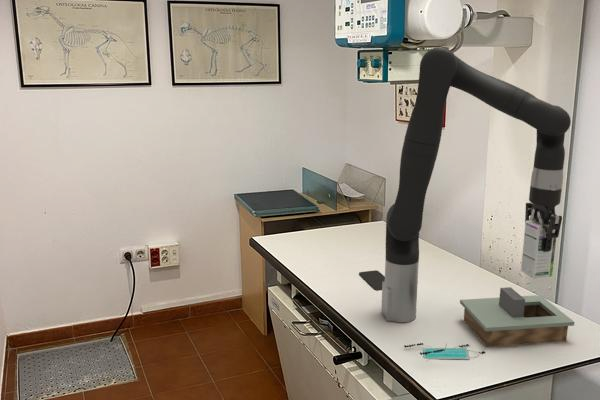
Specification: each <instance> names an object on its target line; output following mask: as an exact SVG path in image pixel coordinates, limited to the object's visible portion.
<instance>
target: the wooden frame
mask: <svg viewBox="0 0 600 400" xmlns="http://www.w3.org/2000/svg"><path fill="white" fill-rule="evenodd" d="M463 311H464V312H463V322H464V324H465V325H467V327H469V329H470V330H471V331H472V332H473V333H474V334H475V336H476V337H477V338H478V339H479V341H481V343H482V344H483V345H484V346H485V348H489V347H504V346H518V345H532V344H545V343H547V344H548V343H560V342H561V343H562V342H567V338H568V337H567V336H568V329H569V326H559V327H544V328H529V329H514V330H499V331H485V330H484V329H483V328H482V326H481V325H480V324H479V323H478V322H477V321H476V320H475V319H474V318H473V317H472V316H471V314H470V313H469V312H468V311H467V310H466V309H465V308H464V310H463ZM544 316H552V315H551V314H550V313H549V312H547V311H546V310H545V309H544V308H543V307H541V306H540V305H526V306H524V317H525V318H529V317H544Z"/></svg>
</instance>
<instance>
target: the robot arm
mask: <svg viewBox="0 0 600 400" xmlns="http://www.w3.org/2000/svg"><path fill="white" fill-rule="evenodd" d="M418 73H419V74H418V82H417V83H418V84H417V85H418V86H417V90H416V92H417V93H416V99H415V102H414V106H413V107H412V108H413V109H412V111H411V115H410V118H409V121H408V124H407V127H406V131H405V134H404V135H405V136H404V138H403V139H404V140H403V145H402V149H401V154H400V162H399V164H400V165H399V180H398V181H399V182H398V183H399V184H398V189H397V194H396V198H395V202H394V203H393V204H392V205H391V206H390V207H389V208H388V210H387V213H386V221H385V266H384V276H385V281H383V282H382V290H381V307H380V308H381V309H380V311H381V313H382V315H383V317H384V318H385V319H384V320H386V322H387V321H388V322H395V323H408V322H409V323H410V322H412V321H414V320H415V319H416V316H417V302H418V301H417V298H418V284H419V283H418V281H419V280H418V279H419V267H420V266H419V262H420V241H419V240H420V231H421V230H422V226H423V215H424V206H425V200H426V195H427V191H428V188H429V185H430V181H431V179H432V176H433V171H434V168H435V164H436V160H437V156H438V155H439V154H438V153H439V148H440V144H441V140H442V139H441V138H442V133H443V132H442V131H443V125H444V110H445V105H446V101H447V98H448V94H449V92H450V87H451V88H456V90H459V91H462V92H465V93H467V94H469V95H470V96H473V97H474V98H476V99H478V100H479V101H481V102H482V103H485V104H487V105H488V106H489V107H492V108H493V109H496V110H497V111H499V112H500V113H503V114H505V115H508V116H509V117H510V118H514V119H515V120H519V121H521V122H523V123H526V124H527V125H529V126H530V127H532V128H534V129H535V130H536V145H535V151H534V159H533V168H532V172H531V177H530V186H529V195H528V201H529V202H526V203H525V213H524V214H525V216H524V223H525V222H526V221H528V220H529V221H534V220H535V221H537V222H539V223H540V225H541V228H542V229H543V238H542V247H541V250H542V251H543V252H549V251H550V250H551V243H552V238H556V239H557V238H558V237H559V235H560V231H561V225H562V221H563V216H562V215H557V214H556V207H557V206H558V205H560V204H561V198H562V192H563V191H562V190H563V185H564V183H563V182H564V165H565V157H566V155H565V154H566V150H565V146H564V143H565V136H566V133H567V132H568V131H569V129H570V127H571V123H572V122H571V121H572V119H571V117H570V115H569V113H568V112H567V111H566V110H565V109H564V108H562V107H561V106H559V105H554V104H551V103H549V102H547V101H545V100H542V99H540V98H538V97H536V96H535V95H534V94H532V93H530V92H529V91H526V90H524V89H522V88H520V87H518V86H516V85H514V84H511V83H510V82H507V81H505V80H501V79H500V78H497V77H494V76H491V75H489V74H487V73H484V72H482V71H481V70H478V69H477V68H475V67H473V66H472V65H469V64H468V63H467V62H464V61H463V60H462V59H461V58H459V57H458V56H456V55H455V54H454V52H453V51H452V50H451V49H450V50H449V48H446V47H443V46H442V47H440V46H437V47H433V48H430V49H428V51H426V52H425V53H424V55H423V56H422V58H421V60H420V63H419V72H418ZM544 224H549V225H547V226H546V225H544ZM546 229H548V232H547V231H546ZM554 230H555V233H554Z"/></svg>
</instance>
